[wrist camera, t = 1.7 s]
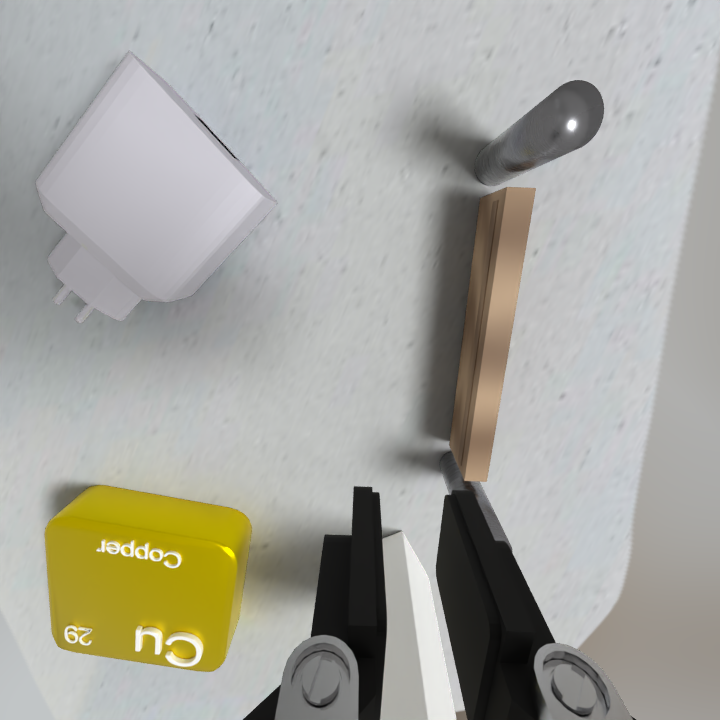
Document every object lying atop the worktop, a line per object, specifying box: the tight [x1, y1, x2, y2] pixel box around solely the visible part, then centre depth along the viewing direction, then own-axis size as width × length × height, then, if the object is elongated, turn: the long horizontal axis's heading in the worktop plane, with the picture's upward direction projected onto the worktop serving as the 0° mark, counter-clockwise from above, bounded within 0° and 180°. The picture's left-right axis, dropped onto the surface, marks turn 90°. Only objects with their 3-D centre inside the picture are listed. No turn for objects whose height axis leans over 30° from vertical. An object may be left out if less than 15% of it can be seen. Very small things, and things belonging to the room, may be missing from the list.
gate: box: [449, 187, 536, 482], centre depth 23 cm, size 18×2×4 cm, turn 178°
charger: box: [35, 51, 277, 323], centre depth 22 cm, size 5×9×15 cm
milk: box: [380, 531, 456, 720], centre depth 22 cm, size 6×6×22 cm
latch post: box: [440, 451, 512, 551], centre depth 25 cm, size 2×2×9 cm
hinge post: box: [475, 80, 604, 186], centre depth 18 cm, size 2×2×9 cm
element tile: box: [45, 485, 252, 672], centre depth 31 cm, size 15×15×5 cm
